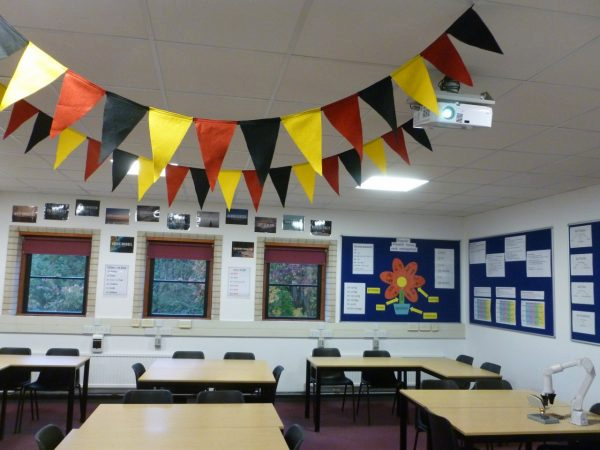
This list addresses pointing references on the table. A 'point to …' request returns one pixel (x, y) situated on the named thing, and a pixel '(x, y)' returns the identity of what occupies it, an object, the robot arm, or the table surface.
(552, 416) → the holder
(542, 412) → the pin
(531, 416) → the tray
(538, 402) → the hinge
